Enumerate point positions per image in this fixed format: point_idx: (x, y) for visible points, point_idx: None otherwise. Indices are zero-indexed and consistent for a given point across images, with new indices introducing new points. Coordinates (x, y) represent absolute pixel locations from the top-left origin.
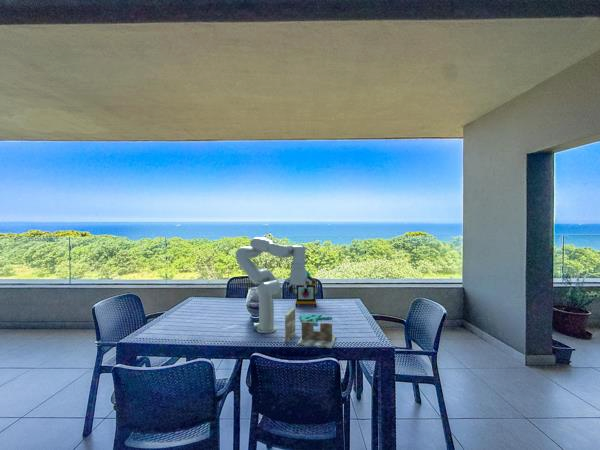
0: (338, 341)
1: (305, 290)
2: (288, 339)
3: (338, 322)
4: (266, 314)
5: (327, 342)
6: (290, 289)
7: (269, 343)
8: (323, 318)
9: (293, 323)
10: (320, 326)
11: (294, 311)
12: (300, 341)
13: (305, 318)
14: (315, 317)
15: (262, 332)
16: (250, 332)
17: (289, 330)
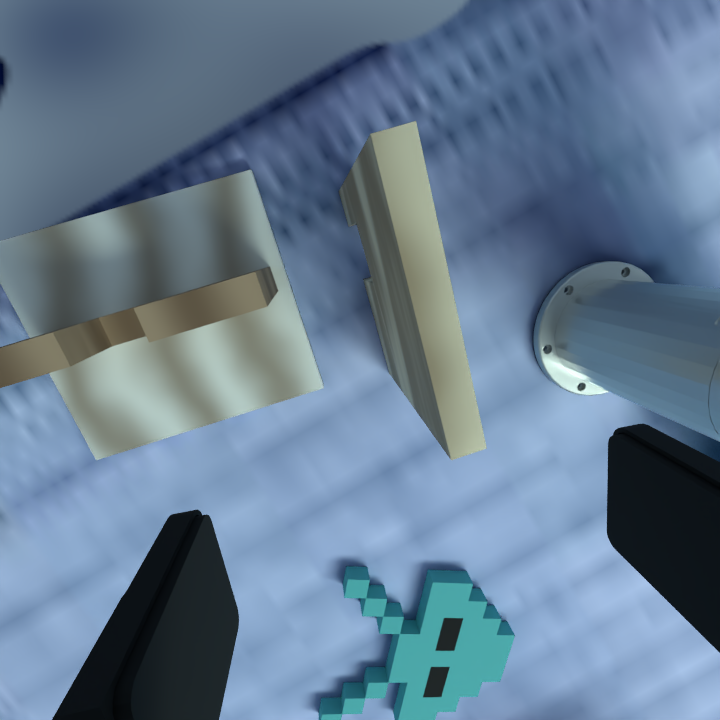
0: (38, 392)
1: (118, 645)
2: (340, 188)
3: (250, 686)
4: (689, 303)
5: (58, 299)
6: (715, 489)
7: (450, 103)
8: (364, 688)
9: (396, 348)
10: (68, 327)
11: (435, 419)
12: (248, 214)
13: (456, 618)
14: (407, 666)
15: (595, 262)
16: (672, 237)
17: (356, 213)
